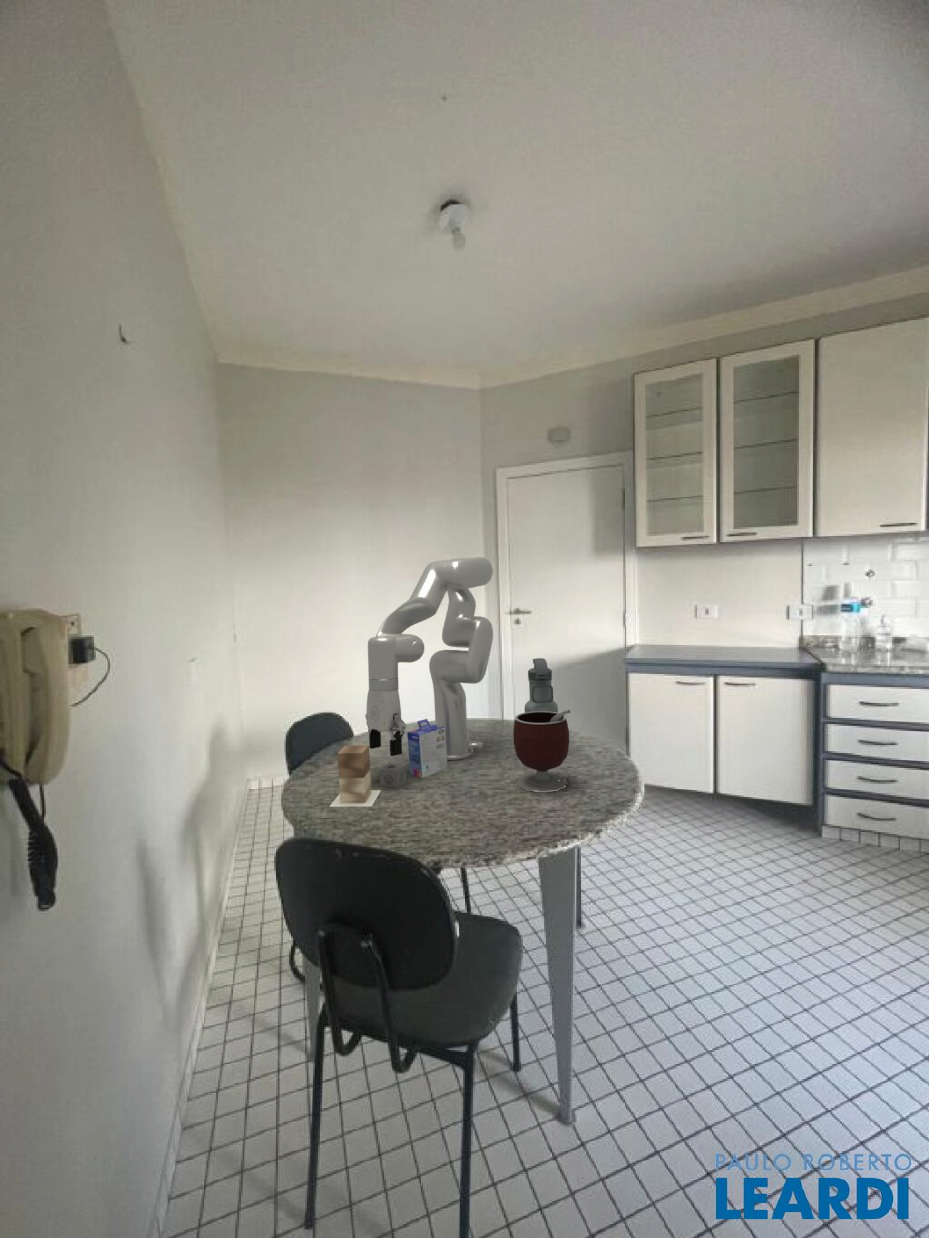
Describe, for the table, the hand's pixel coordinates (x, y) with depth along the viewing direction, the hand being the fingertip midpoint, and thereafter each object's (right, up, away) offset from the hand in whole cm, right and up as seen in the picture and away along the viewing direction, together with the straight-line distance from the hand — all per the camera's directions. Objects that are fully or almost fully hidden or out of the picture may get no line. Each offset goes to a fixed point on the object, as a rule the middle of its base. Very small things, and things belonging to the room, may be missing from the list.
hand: (385, 751), depth 142 cm
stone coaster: (-6, -10, -8) cm, 14 cm away
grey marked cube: (+2, -9, +1) cm, 10 cm away
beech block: (-6, -9, -8) cm, 14 cm away
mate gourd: (+41, -8, -3) cm, 42 cm away
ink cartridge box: (+10, -8, +10) cm, 17 cm away
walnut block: (-6, -3, -9) cm, 11 cm away
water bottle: (+43, -6, +22) cm, 49 cm away
